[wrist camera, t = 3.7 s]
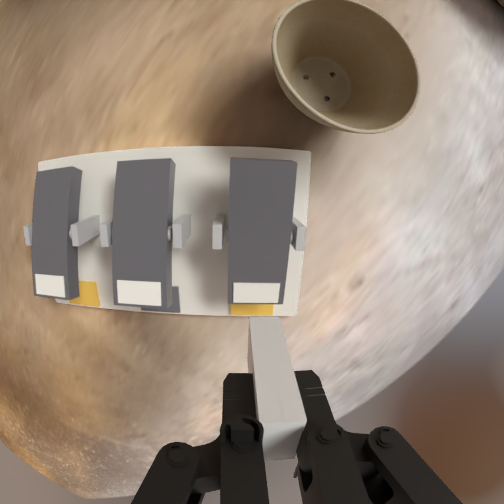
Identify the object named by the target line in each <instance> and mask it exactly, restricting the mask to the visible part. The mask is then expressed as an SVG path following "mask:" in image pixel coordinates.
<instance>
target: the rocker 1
mask: <svg viewBox="0 0 504 504" xmlns="http://www.w3.org/2000/svg"><path fill="white" fill-rule="evenodd" d="M81 179H82V170H80V169H78V168H76V167H73V166H70V167H63V168H56V169H50V170H44V171H38V172H37V175H36V183H35V192H34V203H33V219H32V271H33V286H34V296H41V297H48V298H55V299H63V300H72V299H74V298H77V297H79V296H80V294H79V278H78V246H73V244H72V236H71V226H70V225H71V224H74V223H76V222H78V218H79V201H80V189H81Z"/></svg>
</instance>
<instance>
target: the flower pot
mask: <svg viewBox="0 0 504 504" xmlns="http://www.w3.org/2000/svg"><path fill="white" fill-rule="evenodd" d="M272 61H273V66H274V71H275V74H276V77H277V80H278V82H279V84H280V86H281V88H282V90H283V92H284V93H285V95H286V96H287V98H288V99H289V100H290V101H291V102H292V104H293V105H294V106H295V107H296V108H297V109H299V110H300V111H301V112H302V113H304V114H305V115H306V116H308V117H309V118H311V119H313V120H315V121H316V122H318V123H320V124H323V125H325V126H328V127H331V128H334V129H337V130H341V131H346V132H352V133H364V134H374V133H381V132H386V131H389V130H391V129H394V128H396V127H397V126H399V125H400V124H402V123H403V122H404V121H405V120H406V119H407V118H408V117H409V116H410V115H411V114H412V112H413V110H414V109H415V107H416V104H417V101H418V98H419V93H420V73H419V68H418V64H417V61H416V58H415V56H414V53H413V51H412V49H411V47H410V46H409V44H408V42H407V41H406V39H405V38H404V37H403V35H402V34H401V33H400V32H399V30H398V29H397V28H396V27H395V26H394V25H393V24H392V23H391V22H390V21H389V20H388V19H386V18H385V17H384V16H383V15H381V14H380V13H378V12H377V11H375V10H374V9H372V8H370V7H368V6H366V5H364V4H362V3H360V2H357V1H354V0H301V1H299V2H297V3H295V4H293V5H292V6H290V7H289V8H288V9H286V10H285V11H284V13H283V14H282V15H281V16H280V18H279V19H278V21H277V23H276V25H275V28H274V31H273V36H272ZM331 73H333V74H332V75H330V74H331ZM304 78H306V79H307V80H305V79H304ZM327 96H328V97H329V100H328V99H327Z"/></svg>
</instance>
